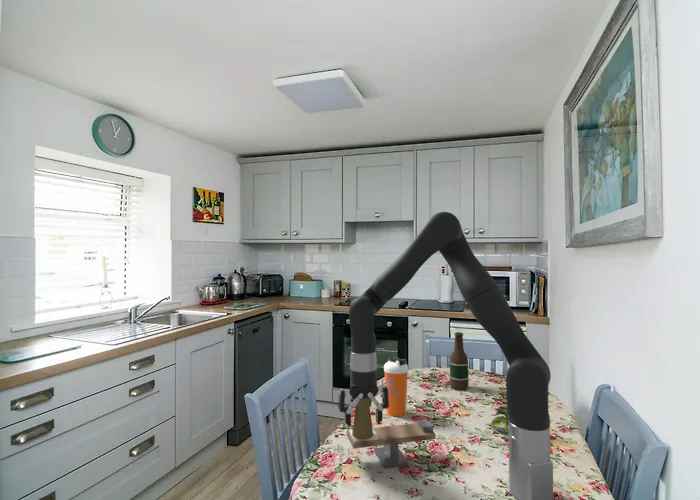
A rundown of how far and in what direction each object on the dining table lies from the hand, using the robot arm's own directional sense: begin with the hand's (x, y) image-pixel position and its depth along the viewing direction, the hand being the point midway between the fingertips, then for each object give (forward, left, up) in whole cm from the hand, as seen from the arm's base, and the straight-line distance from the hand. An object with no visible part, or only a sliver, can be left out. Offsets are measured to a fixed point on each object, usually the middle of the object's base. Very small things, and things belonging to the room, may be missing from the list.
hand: (363, 424), depth 114 cm
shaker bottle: (+31, -20, -11) cm, 39 cm away
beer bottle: (+51, -56, -11) cm, 77 cm away
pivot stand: (0, -8, -10) cm, 13 cm away
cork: (0, 0, -3) cm, 3 cm away
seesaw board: (0, -8, -4) cm, 9 cm away
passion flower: (+7, -52, -11) cm, 54 cm away
